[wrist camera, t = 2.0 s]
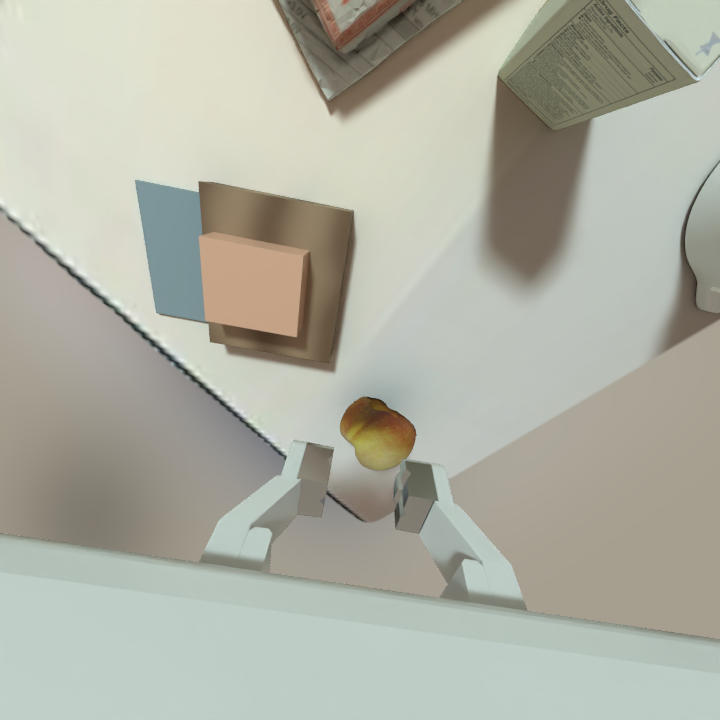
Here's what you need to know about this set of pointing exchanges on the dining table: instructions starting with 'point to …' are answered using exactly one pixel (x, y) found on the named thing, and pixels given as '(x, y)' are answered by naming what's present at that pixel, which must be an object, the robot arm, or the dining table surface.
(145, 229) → the slate mat
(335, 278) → the walnut stand
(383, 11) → the packaged product
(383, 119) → the dining table surface
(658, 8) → the skincare box
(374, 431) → the fruit
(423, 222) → the dining table surface
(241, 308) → the terracotta tile
